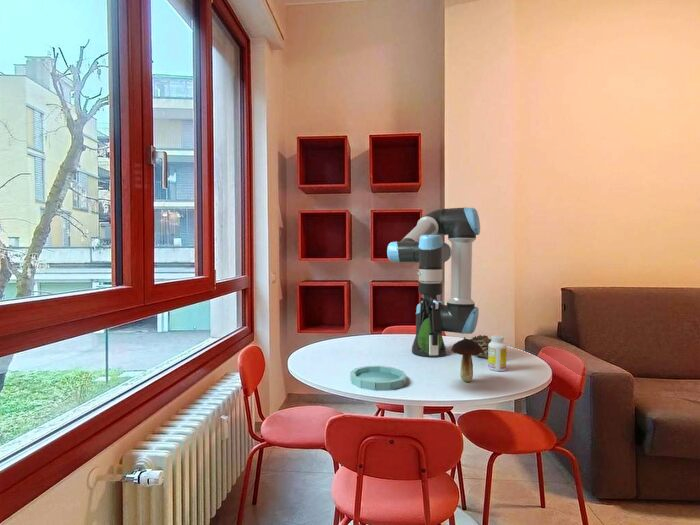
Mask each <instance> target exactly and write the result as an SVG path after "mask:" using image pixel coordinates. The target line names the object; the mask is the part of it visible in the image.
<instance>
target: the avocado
mask: <svg viewBox="0 0 700 525" xmlns="http://www.w3.org/2000/svg"><path fill="white" fill-rule="evenodd" d="M429 333H431V332H430V323H429V318H427V319H425V320H424V322H423V323H422V325H421V327H420V330H419V333H418V344H419V347H420V348H421V349H422V350H423V351H424V352H426V353H428V354H429ZM442 338H443V334H442V335H441V334H439V335H438V350H439V349H440V347H441V344H442Z"/></svg>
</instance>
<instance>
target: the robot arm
mask: <svg viewBox="0 0 700 525" xmlns="http://www.w3.org/2000/svg"><path fill="white" fill-rule="evenodd" d="M480 233H481V223H480V217H479V212H478V210H477V209H476V208H474V207H466V206H465V207H452V208H449V207H448V208H438V209H435V210H432V211H430V212H428V213H426V214H424V215H423V216H422V217H421V218H420V219H418V220H417V223H416V226H415V227H413V228H412V229H411V230H410V232H408V233H407V234H406V235H405V236H404V237H403V238H401V240H400V241H391V242H390V243H388V245H387V247H386V248H387V249H386V254H387V258H388V261H389V262H392V263H397V264H398V263H406V264H407V263H409V264H410V263H411V264H412V263H413V264H414V263H418V272H417V275H418V282H419V283H418V294H420V295H422V297H419V298H420V299H419V301H420V302H419V303H418V304H417V305H416V308H415V310H416V312H415V337H414V339H413V343H412V346H411V353H412V354H413V355H415V356H418V357H424V358H425V357H427V358H439V357H440V358H441V357H444V356H446V354H447V349H446V344H445V342H444V338H443V337H442V344H441V347H440V349H439V350H438V335H439V334H441V335H442V336H443V332H446V333H456V334H461V335H464V334H465V335H467V334H469V335H472V334H473V333H474V332H475V330H476V329H477V324H478V320H479V313H480V312H479V310H480V309H479V307H478V306H476V305H475V303H476V302H475V301H474V300H473V299H472V272H473V271H472V270H473V269H472V268H473V260H472V259H473V243H474V242H475V241H476V240H477V236H478V235H480ZM443 236H447V240H448V241H449V242H450V243H451V246H450V245H449V244H448V243H447V242H444V241H443V240H444V239H443ZM450 259H451V260H450ZM449 260H450V298H448V300H446V304H444V303H443V301H442V300H441V301H440V300H438V296H440V295H442V293H443V283H441V282H442V281H443V264H444V263H446V262H448V261H449ZM427 318H429V323H430V332H431V333H429V354H428V353H426V352H424V351H423V350H422V349H421V348H420V347H419V344H418V333H419V330H420V327H421V325H422V323H423V322H424V320H425V319H427Z"/></svg>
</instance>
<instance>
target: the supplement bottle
mask: <svg viewBox="0 0 700 525" xmlns="http://www.w3.org/2000/svg"><path fill="white" fill-rule="evenodd" d="M490 339H491V341H492V342H490V343H489V344H488V357H487V368H488V369H489V370H490V371H494V372H505V371H507V348H508V347H507V344H506V343H504V340H505V336H503V335H491V336H490Z"/></svg>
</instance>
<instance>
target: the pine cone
mask: <svg viewBox="0 0 700 525" xmlns="http://www.w3.org/2000/svg"><path fill="white" fill-rule="evenodd" d="M463 339H467V338H466V337H465V336H464V337H463ZM469 339H470V340H472V341H474V342H476V343H477V344H478V345H480V346H481V348H482V349H483V353H480V354H477V355H475V356H476V357H478V358H479V357H481V358H485V357H487V358H488V344H489V343H490V342H492V340H491V338H489V336H488V335H481V334H479V335H477V336H476V335H474V337H472V338H469Z"/></svg>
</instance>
